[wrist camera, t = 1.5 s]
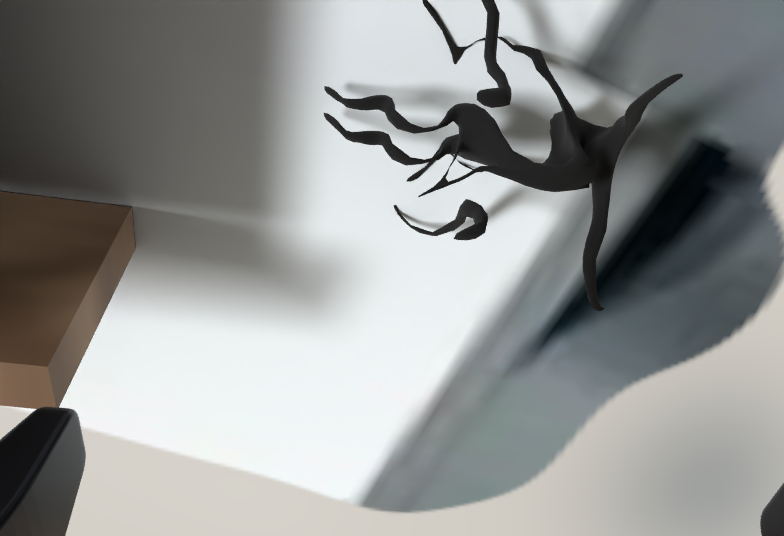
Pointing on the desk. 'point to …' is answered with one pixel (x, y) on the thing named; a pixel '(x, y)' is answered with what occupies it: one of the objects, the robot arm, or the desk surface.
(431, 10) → the creature
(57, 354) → the wooden stand
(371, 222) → the desk surface
